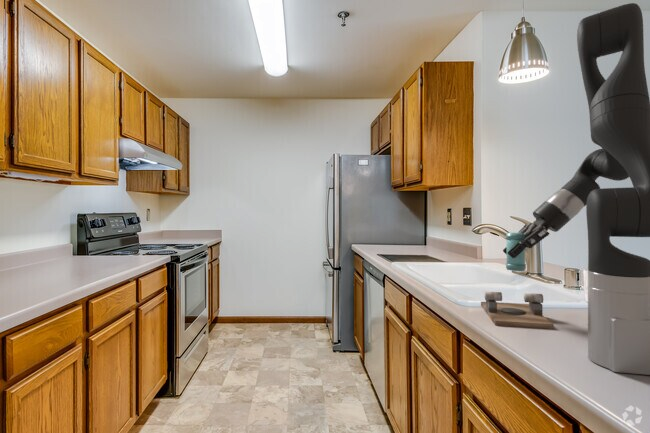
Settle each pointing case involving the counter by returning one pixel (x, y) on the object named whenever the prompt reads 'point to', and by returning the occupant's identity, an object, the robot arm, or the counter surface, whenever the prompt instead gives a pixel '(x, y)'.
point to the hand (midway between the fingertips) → (508, 254)
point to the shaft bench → (516, 311)
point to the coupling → (518, 261)
